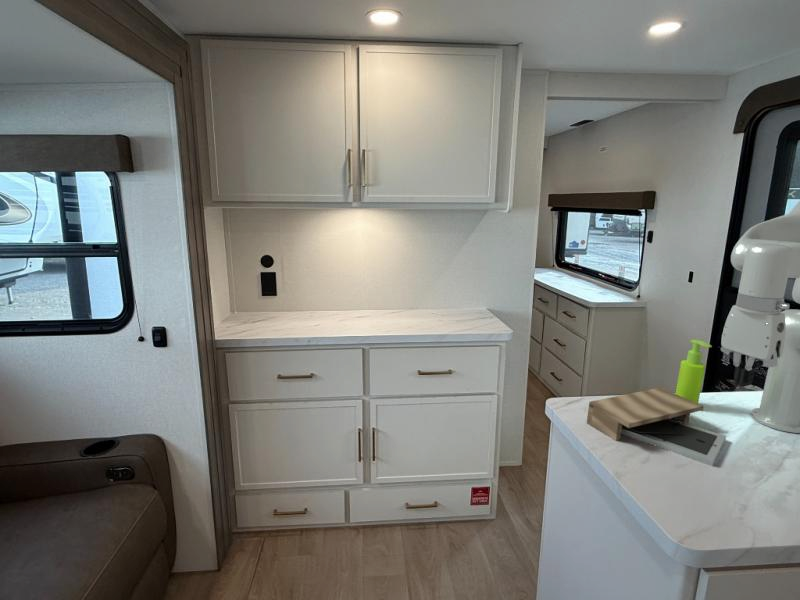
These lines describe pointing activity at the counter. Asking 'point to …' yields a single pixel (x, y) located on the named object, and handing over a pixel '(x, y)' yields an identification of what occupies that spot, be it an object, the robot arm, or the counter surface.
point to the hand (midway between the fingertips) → (742, 384)
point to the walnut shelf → (638, 410)
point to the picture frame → (680, 439)
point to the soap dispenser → (691, 373)
